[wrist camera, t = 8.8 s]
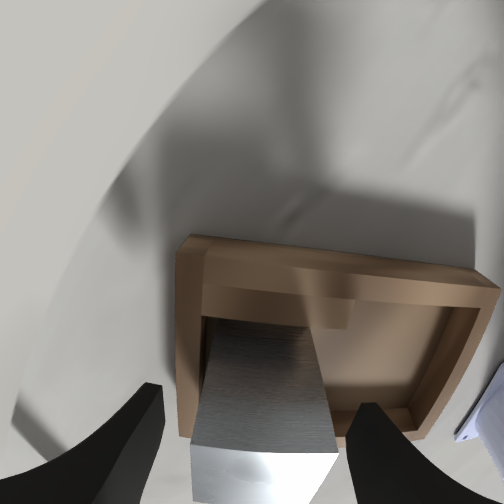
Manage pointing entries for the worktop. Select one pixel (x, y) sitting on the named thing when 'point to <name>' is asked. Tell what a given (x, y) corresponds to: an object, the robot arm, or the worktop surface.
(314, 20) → the worktop surface
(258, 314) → the wooden tray
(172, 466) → the worktop surface
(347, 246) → the worktop surface
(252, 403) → the metal peg
